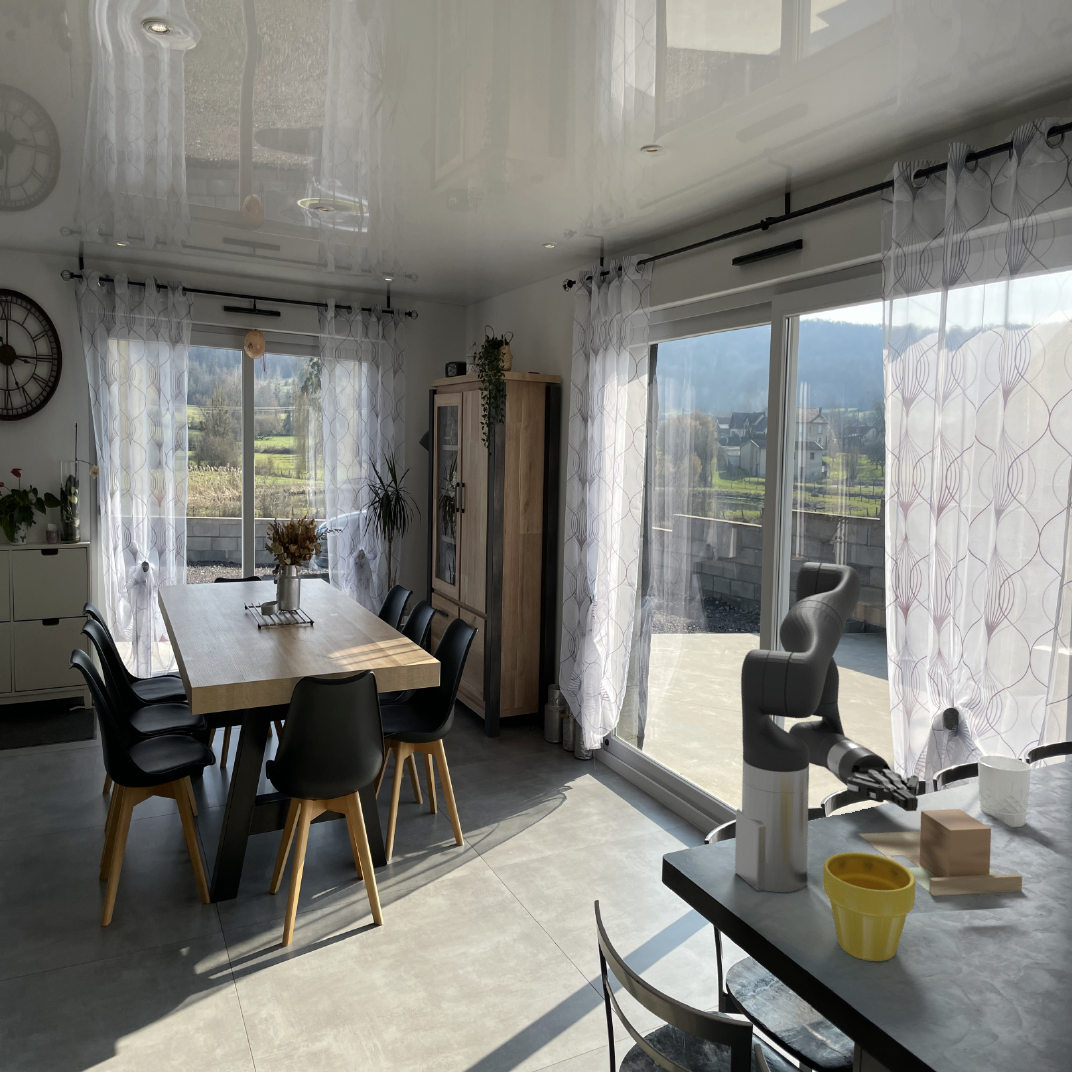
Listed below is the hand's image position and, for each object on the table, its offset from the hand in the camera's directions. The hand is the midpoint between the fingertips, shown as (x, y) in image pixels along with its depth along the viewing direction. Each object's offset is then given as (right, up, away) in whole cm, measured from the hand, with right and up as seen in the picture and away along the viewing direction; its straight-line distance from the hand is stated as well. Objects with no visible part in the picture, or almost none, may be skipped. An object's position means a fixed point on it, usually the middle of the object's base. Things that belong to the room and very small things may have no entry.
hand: (912, 805), depth 126 cm
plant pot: (-18, -9, -26) cm, 33 cm away
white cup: (+22, -7, +13) cm, 26 cm away
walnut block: (+1, -7, -10) cm, 12 cm away
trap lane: (+1, -8, -6) cm, 10 cm away
